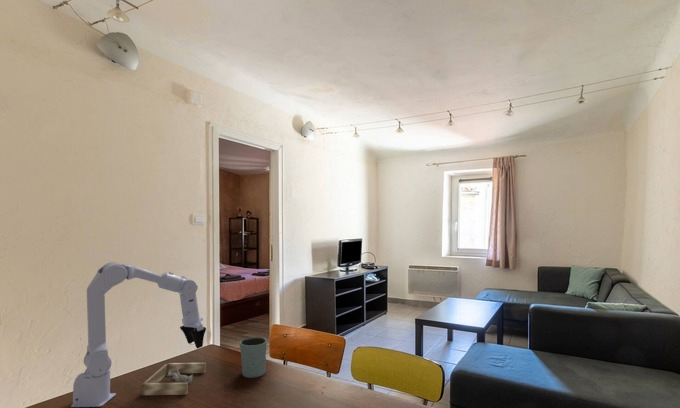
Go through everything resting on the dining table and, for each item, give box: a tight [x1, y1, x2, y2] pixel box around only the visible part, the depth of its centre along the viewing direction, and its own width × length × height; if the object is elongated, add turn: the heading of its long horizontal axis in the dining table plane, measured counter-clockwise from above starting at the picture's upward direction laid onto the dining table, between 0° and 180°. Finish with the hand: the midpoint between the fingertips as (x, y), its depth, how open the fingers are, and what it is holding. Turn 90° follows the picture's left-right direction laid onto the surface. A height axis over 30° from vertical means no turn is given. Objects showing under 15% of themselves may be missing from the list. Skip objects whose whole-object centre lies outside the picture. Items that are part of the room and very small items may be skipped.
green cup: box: [239, 336, 268, 379], centre depth 137 cm, size 10×10×12 cm
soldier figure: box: [166, 367, 194, 384], centre depth 129 cm, size 8×5×12 cm
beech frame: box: [140, 362, 207, 396], centre depth 129 cm, size 15×18×4 cm
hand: (195, 344), depth 138 cm, fingers open, 7 cm apart
